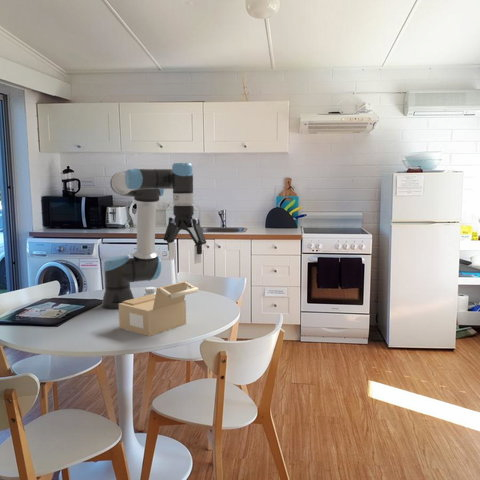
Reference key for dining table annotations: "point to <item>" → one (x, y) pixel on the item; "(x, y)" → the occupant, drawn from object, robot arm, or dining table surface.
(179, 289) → the flap
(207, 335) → the dining table surface
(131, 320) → the carton
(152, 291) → the pill bottle
